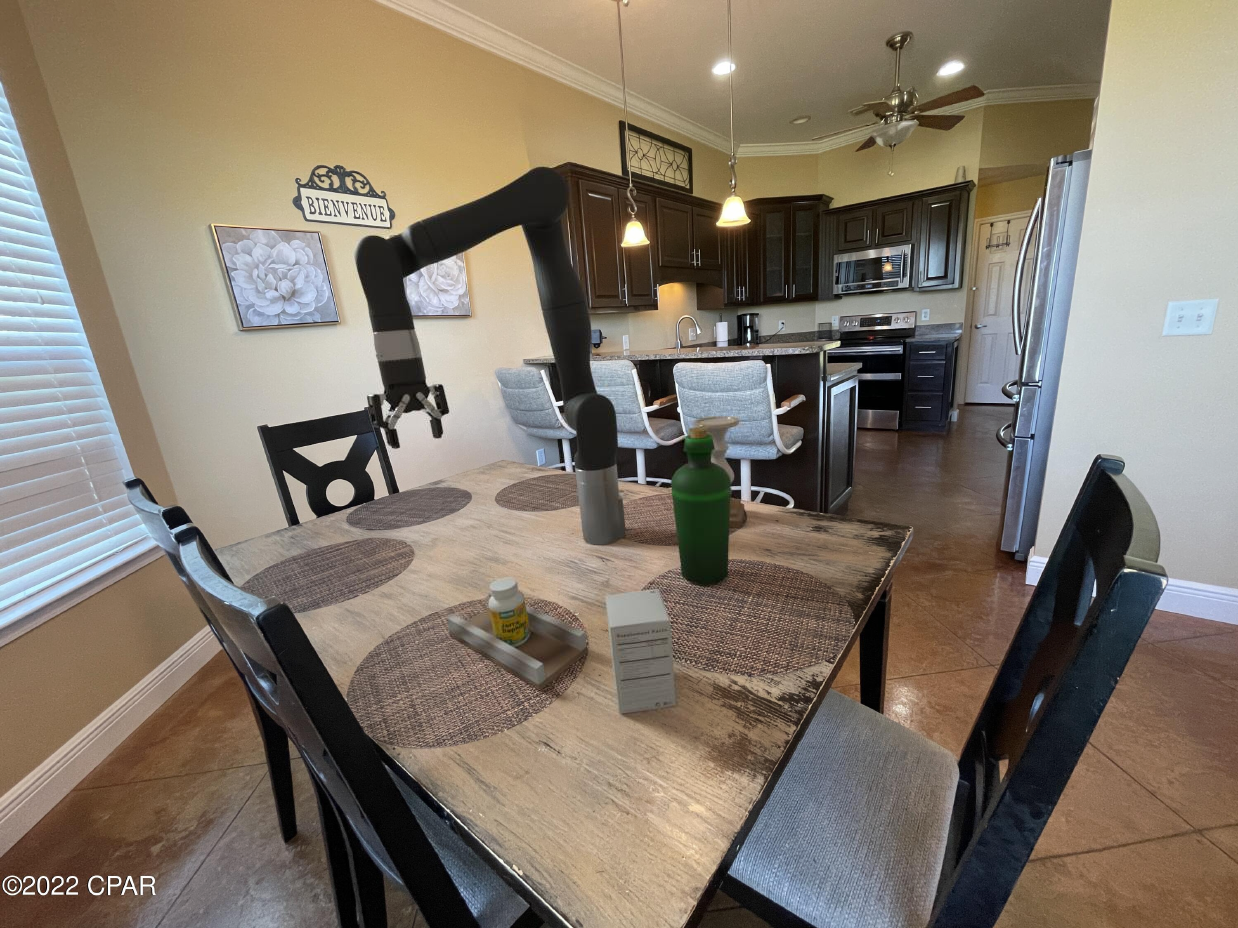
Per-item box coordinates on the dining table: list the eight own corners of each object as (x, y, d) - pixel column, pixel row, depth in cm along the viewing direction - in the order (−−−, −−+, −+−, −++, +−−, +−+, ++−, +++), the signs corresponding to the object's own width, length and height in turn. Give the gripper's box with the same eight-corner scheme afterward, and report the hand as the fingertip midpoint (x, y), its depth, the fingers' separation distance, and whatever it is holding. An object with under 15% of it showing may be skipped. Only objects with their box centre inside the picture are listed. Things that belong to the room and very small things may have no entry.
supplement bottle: (522, 623, 78) (513, 570, 75) (536, 639, 73) (527, 583, 71) (490, 637, 75) (480, 582, 72) (502, 654, 70) (492, 597, 68)
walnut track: (450, 636, 78) (446, 617, 77) (497, 608, 85) (494, 590, 84) (539, 690, 64) (536, 668, 63) (587, 652, 71) (585, 631, 70)
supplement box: (613, 674, 66) (604, 593, 62) (666, 667, 66) (660, 586, 63) (618, 716, 59) (608, 626, 55) (677, 707, 59) (671, 618, 56)
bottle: (739, 565, 92) (736, 422, 84) (726, 594, 82) (721, 436, 75) (685, 559, 96) (678, 422, 89) (668, 585, 87) (658, 435, 79)
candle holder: (741, 528, 108) (738, 425, 101) (692, 526, 112) (687, 426, 105) (744, 510, 118) (743, 415, 111) (700, 508, 121) (696, 416, 115)
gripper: (369, 360, 80) (390, 453, 84) (445, 352, 90) (460, 436, 95) (350, 362, 85) (371, 450, 89) (425, 354, 95) (440, 433, 99)
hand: (417, 442), depth 92 cm, fingers open, 8 cm apart
